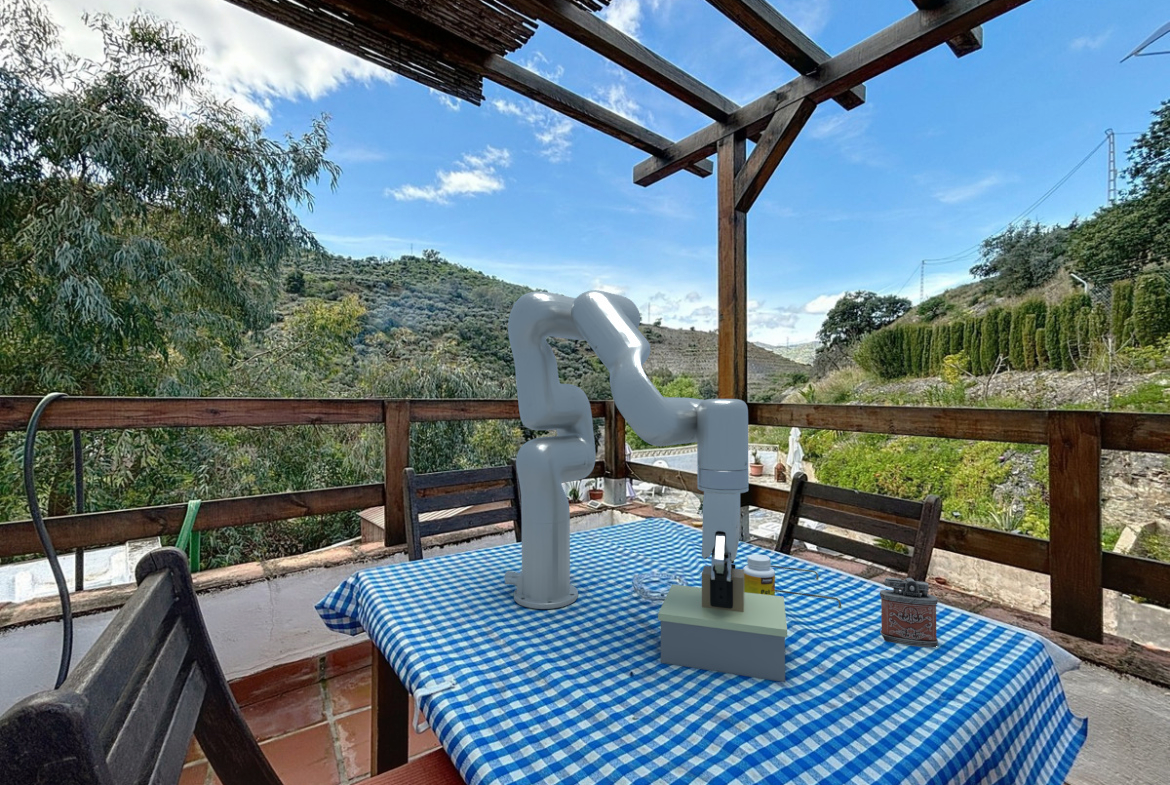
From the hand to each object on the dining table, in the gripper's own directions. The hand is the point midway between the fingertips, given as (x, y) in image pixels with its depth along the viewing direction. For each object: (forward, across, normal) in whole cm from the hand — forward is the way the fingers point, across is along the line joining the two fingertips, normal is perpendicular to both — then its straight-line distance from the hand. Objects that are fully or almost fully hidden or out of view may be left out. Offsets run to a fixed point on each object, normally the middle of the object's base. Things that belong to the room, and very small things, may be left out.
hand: (723, 596), depth 80 cm
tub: (+9, 0, 0) cm, 9 cm away
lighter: (+9, -15, +28) cm, 33 cm away
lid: (+4, 0, 0) cm, 4 cm away
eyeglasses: (+10, -33, +11) cm, 36 cm away
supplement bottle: (+9, -19, +5) cm, 22 cm away
